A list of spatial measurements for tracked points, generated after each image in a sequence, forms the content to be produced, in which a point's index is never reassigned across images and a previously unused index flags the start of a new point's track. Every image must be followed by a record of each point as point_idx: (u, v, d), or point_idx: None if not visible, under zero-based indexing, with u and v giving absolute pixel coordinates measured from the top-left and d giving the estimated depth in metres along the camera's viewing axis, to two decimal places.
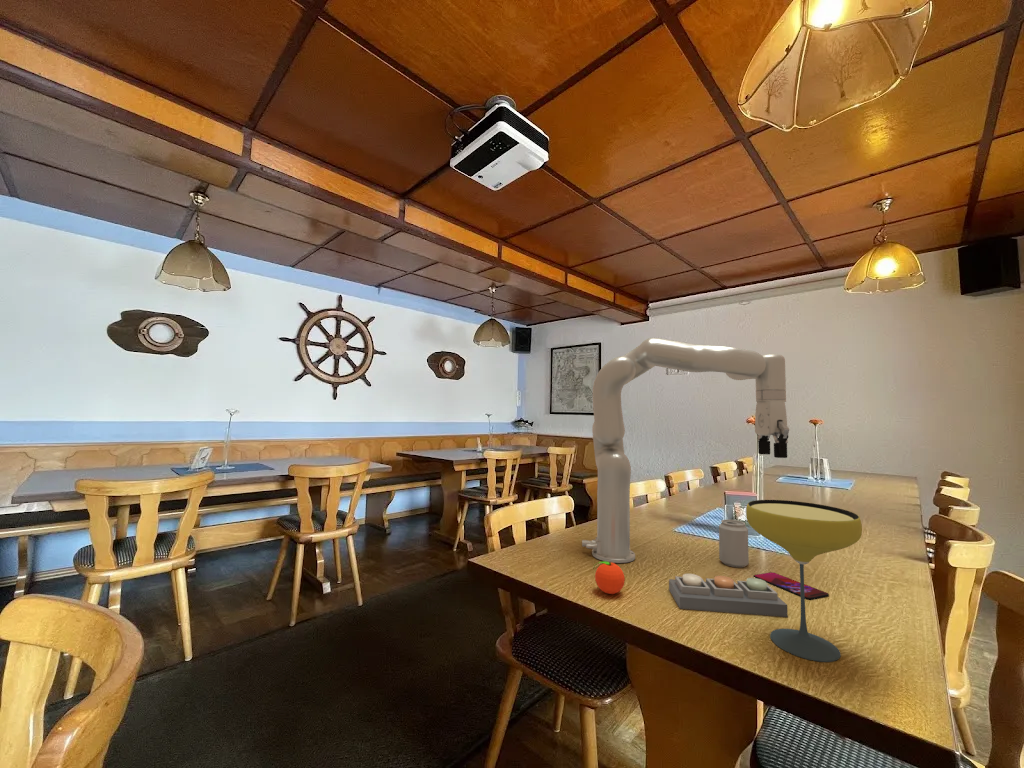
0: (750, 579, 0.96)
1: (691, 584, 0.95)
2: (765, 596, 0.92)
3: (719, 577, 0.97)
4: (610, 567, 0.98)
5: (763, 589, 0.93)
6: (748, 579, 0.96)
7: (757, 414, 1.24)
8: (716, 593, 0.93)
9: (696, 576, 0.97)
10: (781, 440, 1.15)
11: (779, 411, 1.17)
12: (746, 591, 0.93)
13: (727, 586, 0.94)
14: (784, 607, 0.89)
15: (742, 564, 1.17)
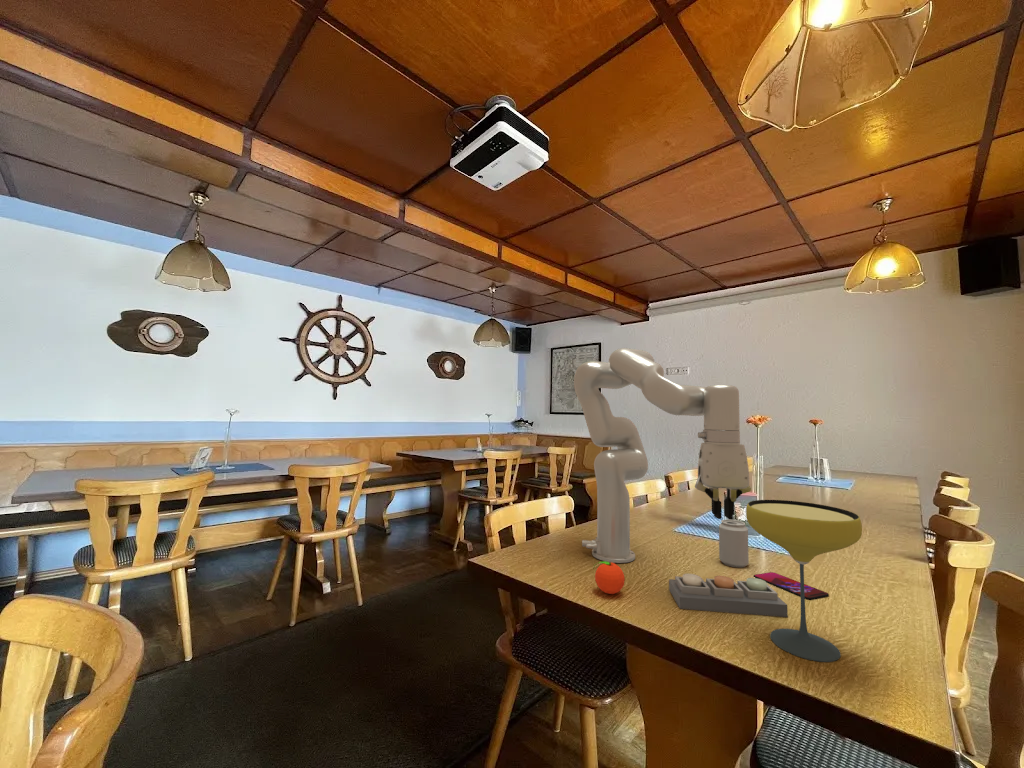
0: (750, 579, 0.96)
1: (691, 584, 0.95)
2: (765, 596, 0.92)
3: (719, 577, 0.97)
4: (610, 567, 0.98)
5: (763, 589, 0.93)
6: (748, 579, 0.96)
7: (715, 461, 0.95)
8: (716, 593, 0.93)
9: (696, 576, 0.97)
10: None
11: None
12: (746, 591, 0.93)
13: (727, 586, 0.94)
14: (784, 607, 0.89)
15: (742, 564, 1.17)
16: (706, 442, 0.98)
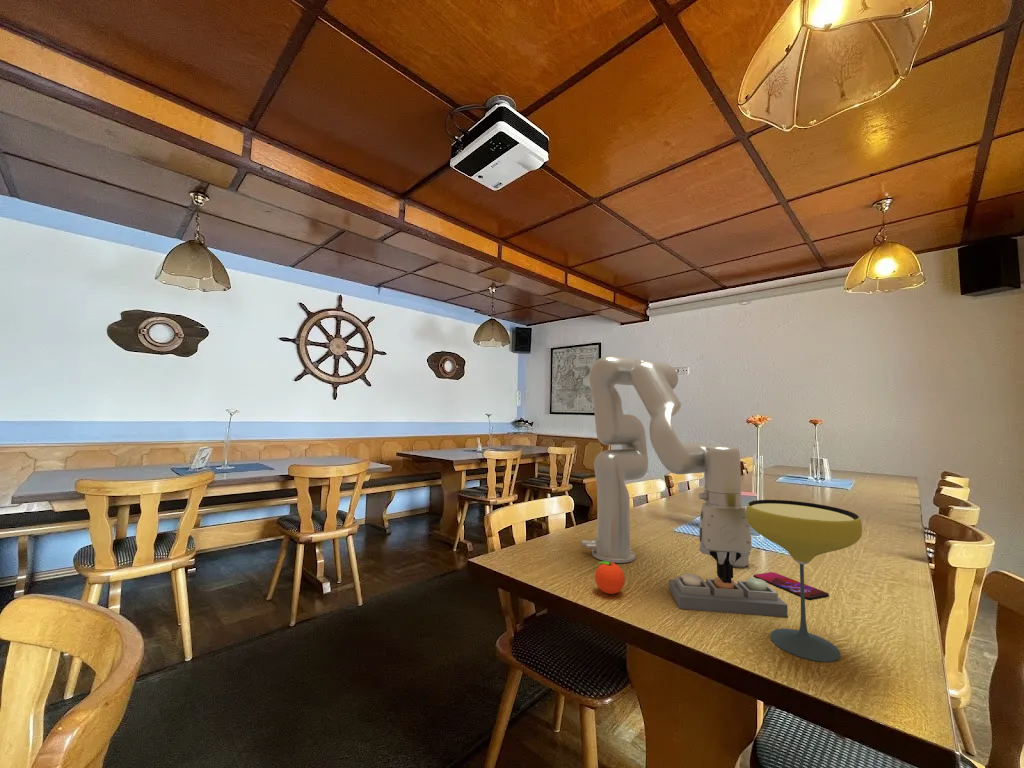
0: (750, 579, 0.96)
1: (691, 584, 0.95)
2: (765, 596, 0.92)
3: (719, 578, 0.97)
4: (610, 567, 0.98)
5: (763, 589, 0.93)
6: (748, 579, 0.96)
7: (717, 525, 0.94)
8: (716, 593, 0.93)
9: (696, 576, 0.97)
10: None
11: None
12: (746, 591, 0.93)
13: (727, 587, 0.94)
14: (784, 607, 0.89)
15: (742, 564, 1.17)
16: (707, 504, 0.96)
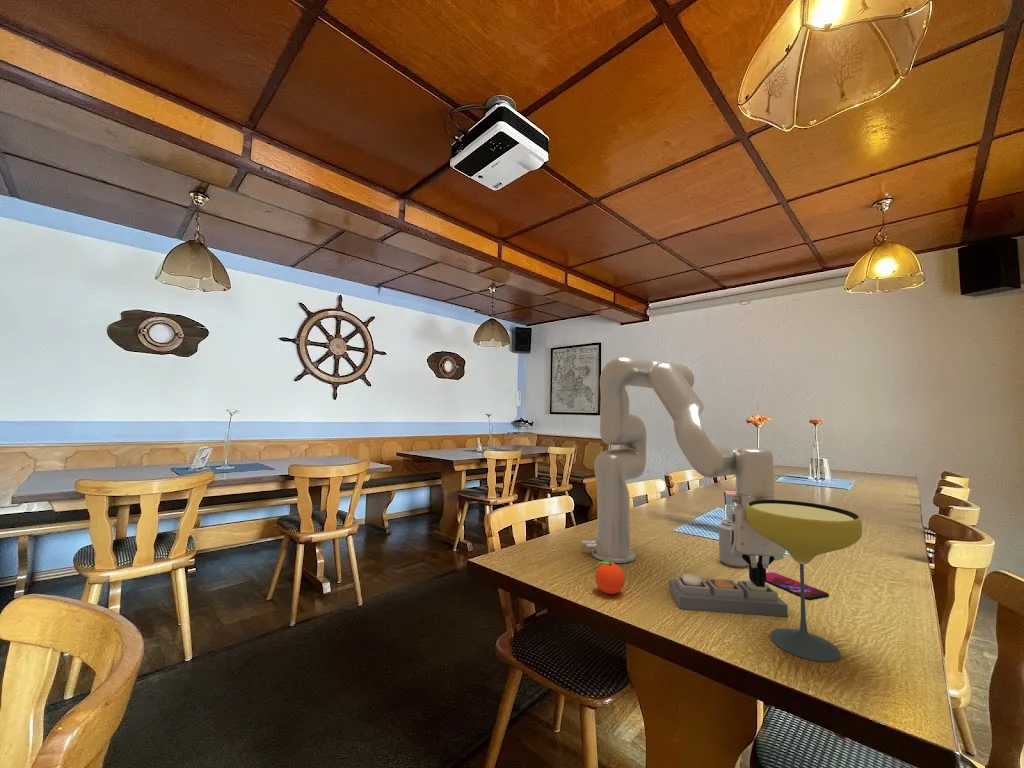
0: (750, 582, 0.96)
1: (691, 584, 0.95)
2: (765, 596, 0.92)
3: (719, 581, 0.97)
4: (610, 567, 0.98)
5: None
6: (748, 582, 0.96)
7: (750, 528, 0.93)
8: (716, 593, 0.93)
9: (696, 576, 0.97)
10: None
11: None
12: (746, 591, 0.93)
13: None
14: (784, 607, 0.89)
15: (742, 564, 1.17)
16: (740, 507, 0.96)
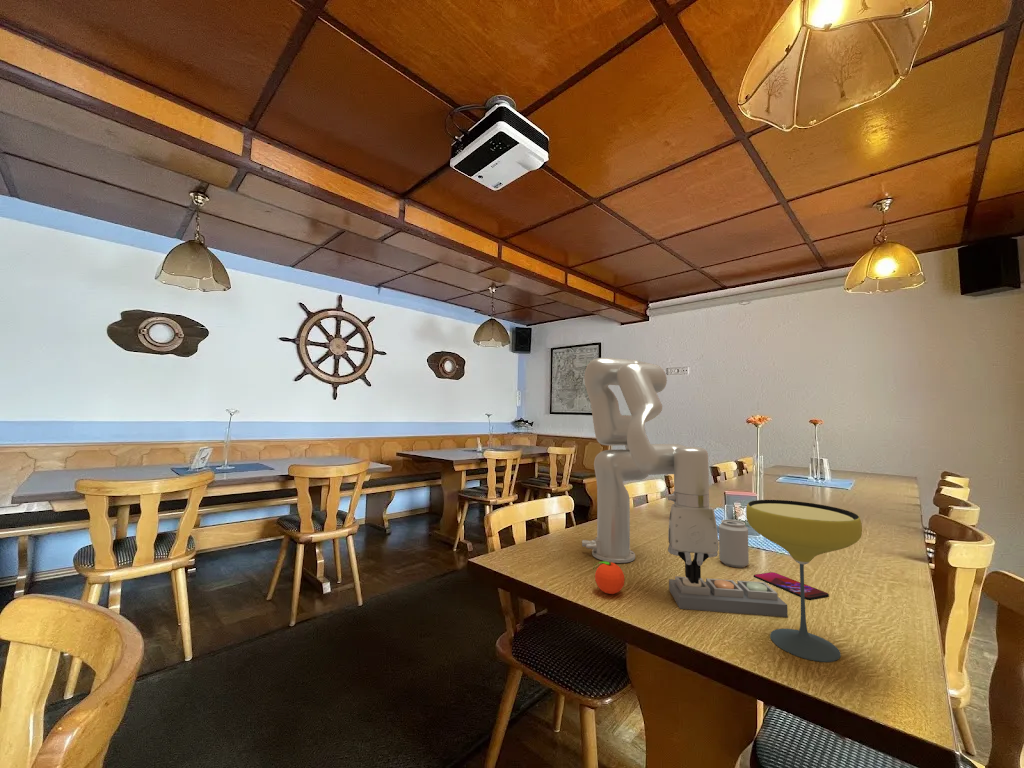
0: (750, 583, 0.96)
1: None
2: (765, 596, 0.92)
3: (719, 581, 0.97)
4: (610, 567, 0.98)
5: None
6: (748, 583, 0.96)
7: (685, 526, 0.95)
8: (716, 593, 0.93)
9: None
10: None
11: None
12: (746, 591, 0.93)
13: None
14: (784, 607, 0.89)
15: (742, 564, 1.17)
16: (676, 505, 0.97)
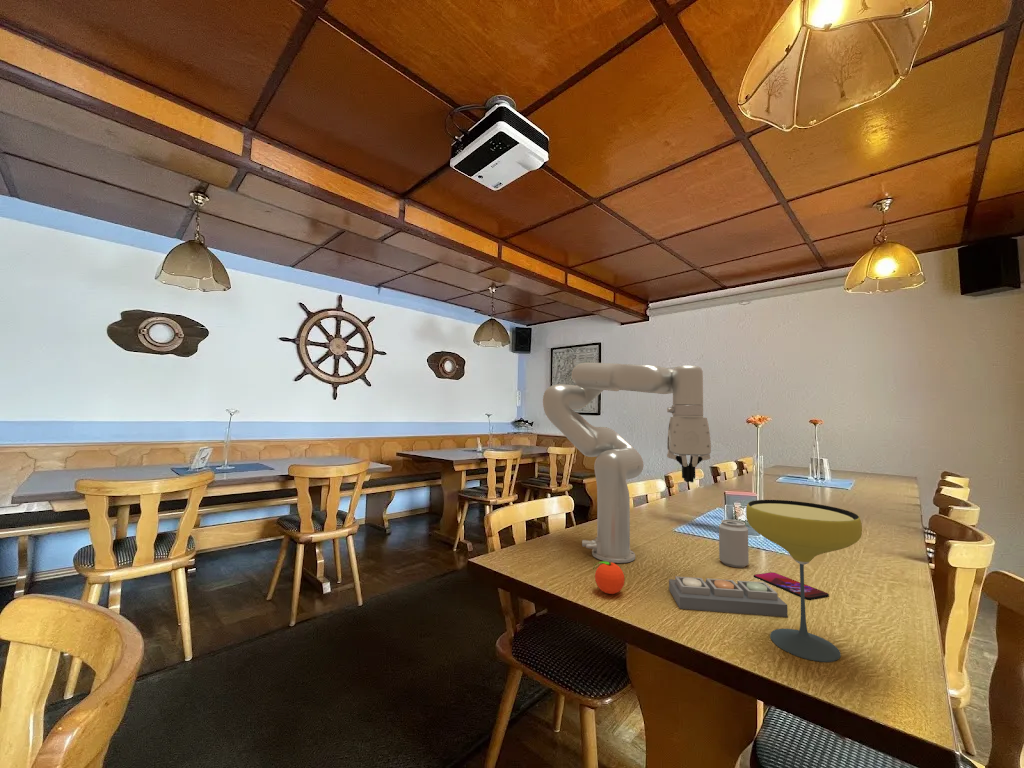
0: (750, 583, 0.96)
1: None
2: (765, 596, 0.92)
3: (719, 581, 0.97)
4: (610, 567, 0.98)
5: None
6: (748, 583, 0.96)
7: (682, 432, 1.09)
8: (716, 593, 0.93)
9: (696, 580, 0.97)
10: None
11: None
12: (746, 591, 0.93)
13: None
14: (784, 607, 0.89)
15: (742, 564, 1.17)
16: (674, 416, 1.11)
